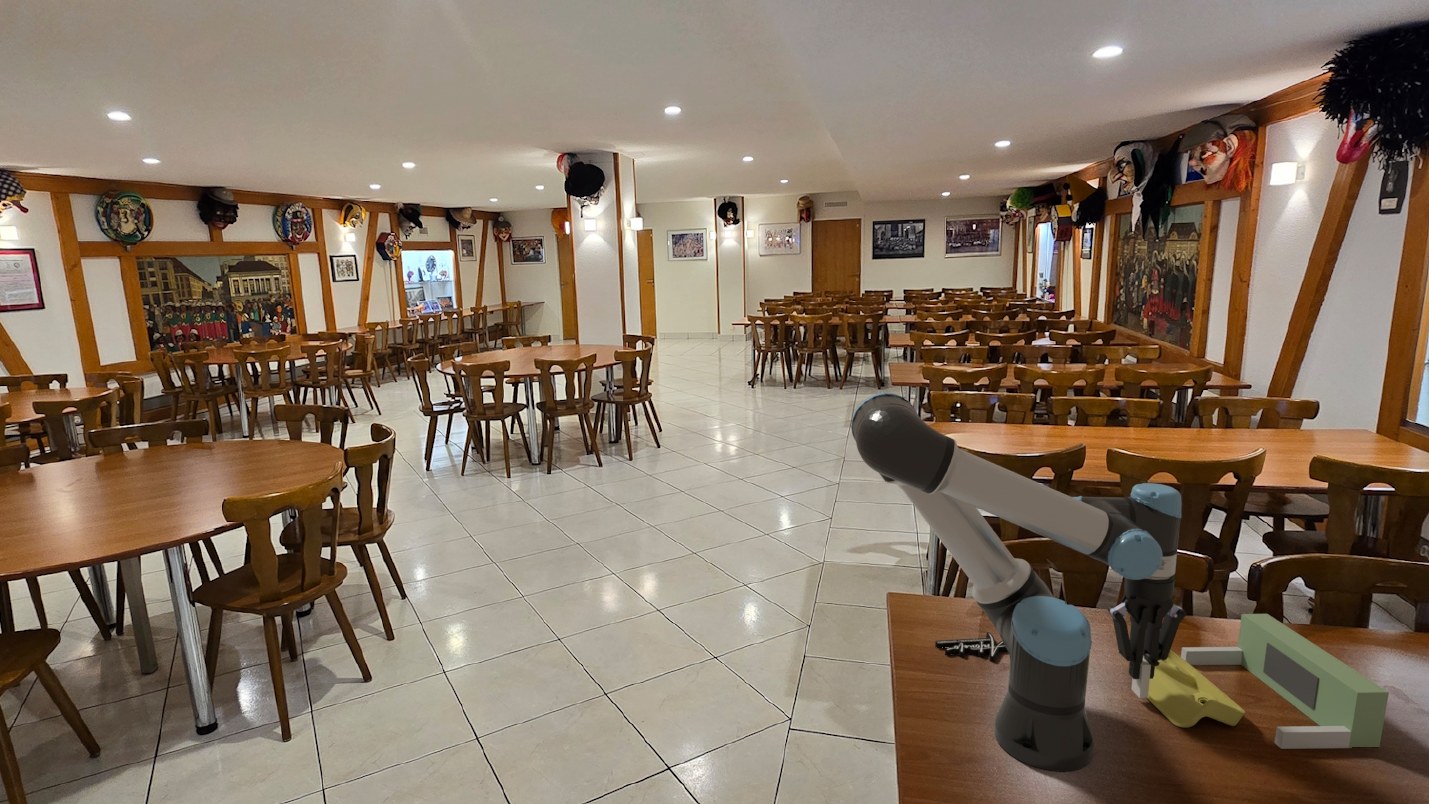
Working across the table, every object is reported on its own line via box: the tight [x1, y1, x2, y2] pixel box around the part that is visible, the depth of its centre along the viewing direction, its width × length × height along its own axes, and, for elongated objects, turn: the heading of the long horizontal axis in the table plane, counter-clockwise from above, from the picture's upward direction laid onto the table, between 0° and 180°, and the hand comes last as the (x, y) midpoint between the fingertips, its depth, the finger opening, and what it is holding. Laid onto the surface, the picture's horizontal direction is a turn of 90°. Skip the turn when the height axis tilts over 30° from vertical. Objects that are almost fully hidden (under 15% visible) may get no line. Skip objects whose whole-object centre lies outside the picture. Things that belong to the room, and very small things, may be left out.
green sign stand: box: [1180, 613, 1390, 750], centre depth 134 cm, size 16×27×10 cm, turn 0°
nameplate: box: [934, 632, 1009, 663], centre depth 154 cm, size 28×2×10 cm
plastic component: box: [1143, 649, 1246, 729], centre depth 136 cm, size 20×7×10 cm
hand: (1139, 693), depth 135 cm, fingers closed
